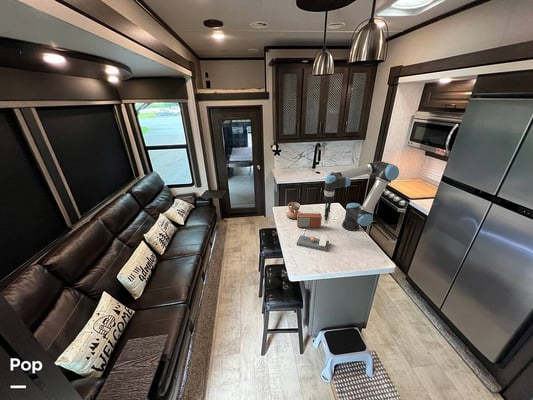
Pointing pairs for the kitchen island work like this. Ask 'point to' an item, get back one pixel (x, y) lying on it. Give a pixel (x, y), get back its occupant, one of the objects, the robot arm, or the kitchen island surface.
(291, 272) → the kitchen island surface
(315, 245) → the switch panel
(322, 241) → the rocker switch
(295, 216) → the ceramic jug
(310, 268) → the kitchen island surface
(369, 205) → the robot arm
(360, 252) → the kitchen island surface
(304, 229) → the toggle lever
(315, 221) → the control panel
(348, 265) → the kitchen island surface
